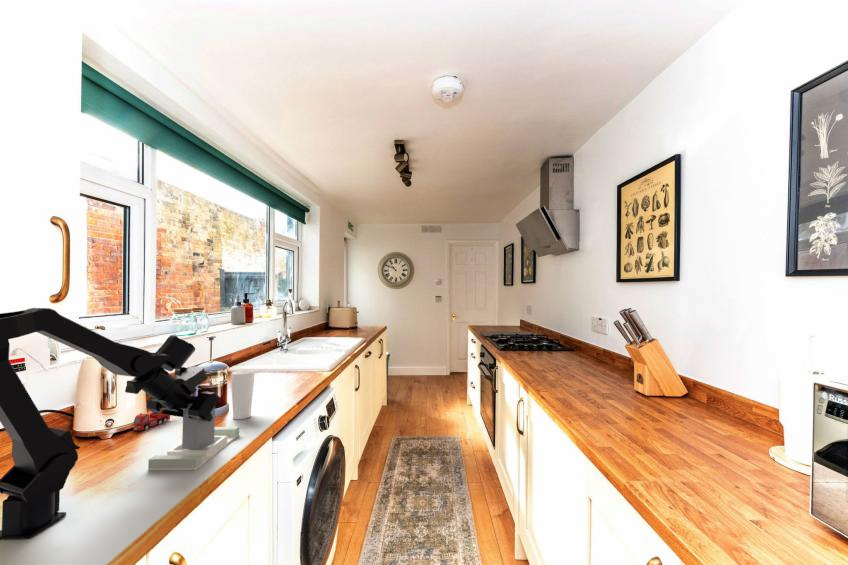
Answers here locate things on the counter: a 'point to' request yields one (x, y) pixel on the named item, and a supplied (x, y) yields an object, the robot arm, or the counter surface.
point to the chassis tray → (193, 452)
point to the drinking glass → (242, 393)
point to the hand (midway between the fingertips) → (203, 418)
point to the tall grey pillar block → (197, 432)
